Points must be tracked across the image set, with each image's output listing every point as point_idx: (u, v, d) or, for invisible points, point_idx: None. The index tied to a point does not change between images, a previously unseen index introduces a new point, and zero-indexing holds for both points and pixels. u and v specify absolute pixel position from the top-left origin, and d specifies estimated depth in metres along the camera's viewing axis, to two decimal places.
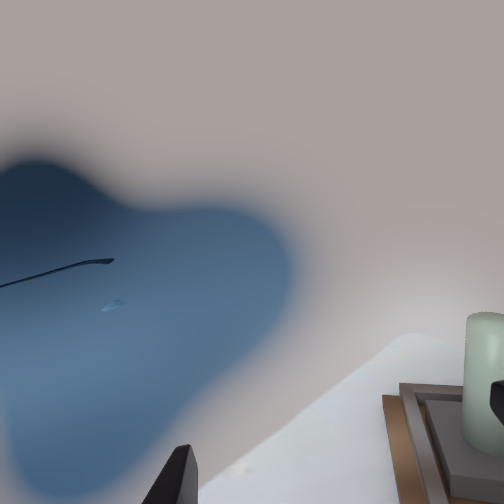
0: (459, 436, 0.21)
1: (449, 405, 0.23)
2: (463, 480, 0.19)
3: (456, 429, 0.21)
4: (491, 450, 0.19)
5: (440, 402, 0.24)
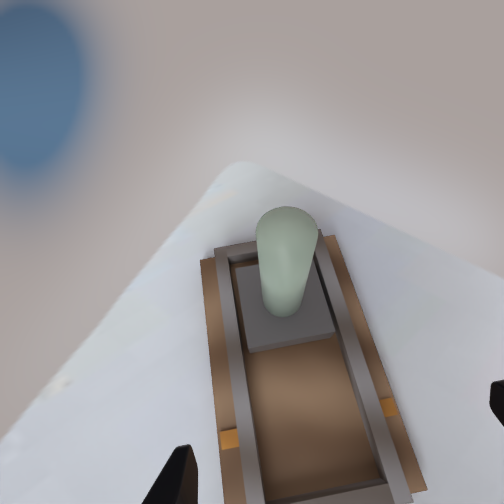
0: (260, 304, 0.21)
1: (256, 269, 0.22)
2: (258, 347, 0.20)
3: (258, 297, 0.21)
4: (283, 315, 0.20)
5: (248, 268, 0.23)
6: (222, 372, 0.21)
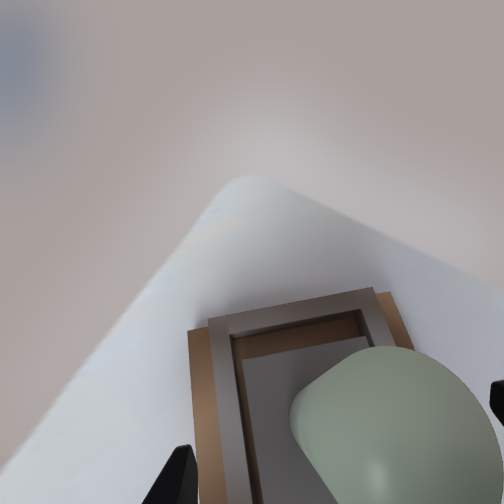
0: (285, 432, 0.12)
1: (276, 363, 0.14)
2: None
3: (282, 417, 0.13)
4: None
5: (264, 360, 0.14)
6: None
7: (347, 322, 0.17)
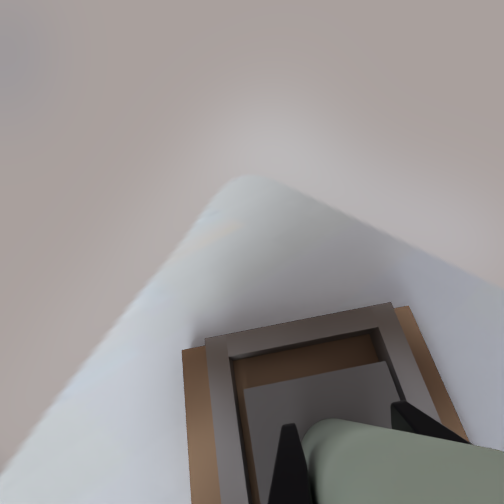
0: None
1: (283, 393, 0.12)
2: None
3: None
4: None
5: (269, 389, 0.12)
6: None
7: (361, 341, 0.15)
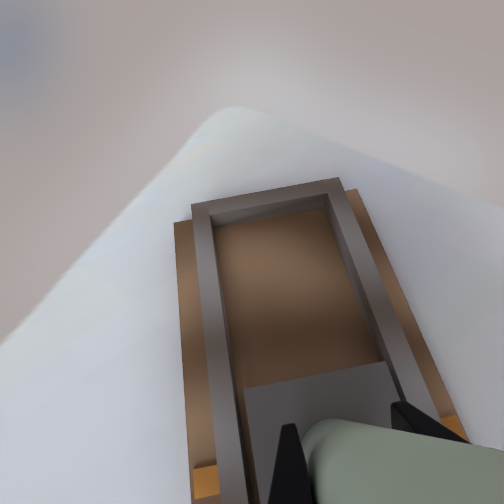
0: None
1: (283, 393, 0.12)
2: None
3: None
4: None
5: (269, 389, 0.12)
6: (199, 378, 0.14)
7: (317, 213, 0.18)
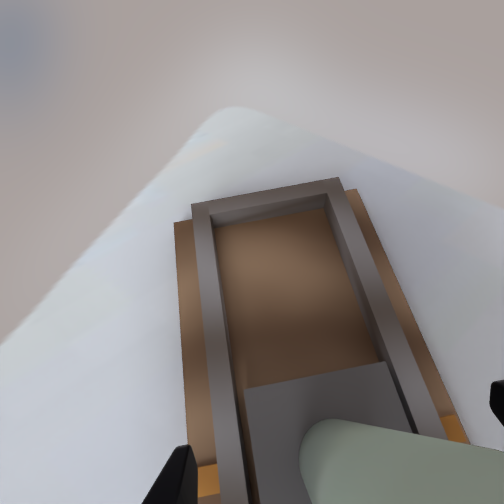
0: (295, 477, 0.11)
1: (283, 393, 0.12)
2: None
3: (291, 459, 0.11)
4: None
5: (269, 389, 0.12)
6: (199, 377, 0.14)
7: (317, 212, 0.18)
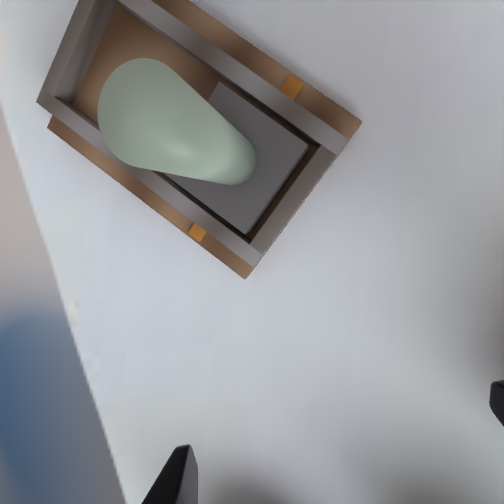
0: (219, 186, 0.17)
1: None
2: (253, 223, 0.17)
3: None
4: (247, 177, 0.16)
5: None
6: (152, 195, 0.20)
7: (117, 14, 0.19)
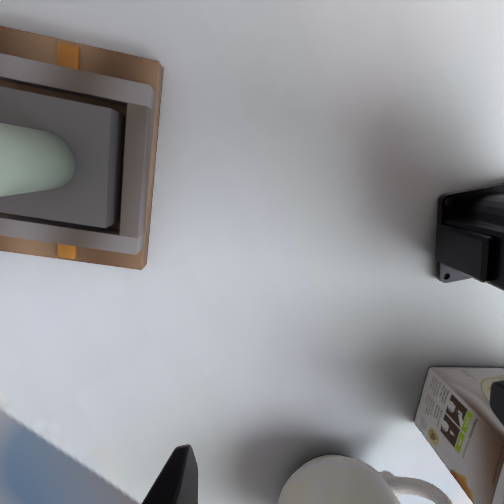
0: (49, 193, 0.15)
1: None
2: (108, 214, 0.16)
3: (37, 191, 0.15)
4: (70, 170, 0.15)
5: None
6: None
7: None
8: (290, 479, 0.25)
